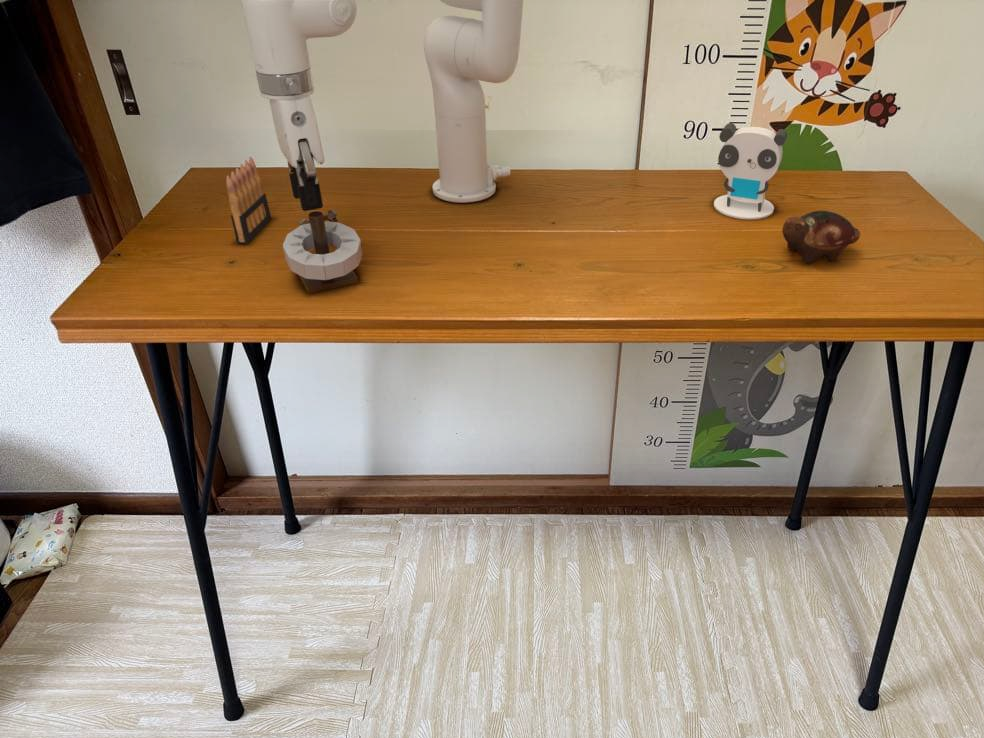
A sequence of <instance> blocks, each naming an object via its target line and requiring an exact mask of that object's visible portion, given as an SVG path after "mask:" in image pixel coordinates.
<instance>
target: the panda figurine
mask: <svg viewBox="0 0 984 738" xmlns="http://www.w3.org/2000/svg"><path fill="white" fill-rule="evenodd" d="M718 138H719V141H721V142H722V143H724V144H723V145H722V147H721V149H720V151H719V153H718V158H717V162H718V166H719V168H720V171H721V172H722V174H723V175H724V177H726V179H725V180H724V181H723V186H724V189H725V190H727V194H724V195H720V196H718V197H716V198H715V199H714V202H713V207H714V209H715V210H716V211H717V212H719V213H720V214H722V215H724V216H727V217H730V218H734V219H738V220H739V219H740V220H760V219H765V218H768V217H770V216H771V215H772V214H773V213H774V210H775V206H774V204H773V203H772V202H771V201H769V200H767V199H766V192H767V191H768V189H769V182H768V181H769V180H770V179H772V178H773V177H774V175H776V173H777V171H778V170H779V167H780V165H781V162H782V160H783V146H784V145H785V142H786V140H787V138H788V131H787V130H786V129H785V128H784V129H783V128H779V129H778V130H777V131H776V132H774V131H773V130H772V129H769V128H765V127H760V126H744V127H740V128H738V129H737V126H736V124H734V123H733V122H728V123H726V125H724V127H723V128H722V130H721V131H720V133H719V137H718Z"/></svg>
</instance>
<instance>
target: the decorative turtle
mask: <svg viewBox="0 0 984 738" xmlns="http://www.w3.org/2000/svg"><path fill="white" fill-rule="evenodd" d="M781 232H782V236H783V238H784V240H785V241H786V246H787V250H788V252H790V253H797V252H799V254H800V256H801V257H802V260H803V262H804V263H805V264H806V265H810V264H811V265H812V264H813V263H815V262H816V261H817V260H819V259H820V258H821V257H824V258H825V259H826V261H828V262H834V261H835V260H836V259H837V258H838V257H839V256H840V255H841V254H842V252H843V251H844V250H845V249H846V248H847V247H848V246H850V245H853V244H855V243H856V242H857V241H858V240H859V239H860V237H861V232H860V230H859V229H858V228H857V227H854V226H853V224H852V223H851V222H850V220H848V219H847V218H846V217H844V216H843V215H840V214H838V213H837V212H833V211H827V210H815V211H811V212H808V213H805V214H803V215H801V216H798V215H793V216H790V217H788V218H787V219H786V221H784V223H783V226H782V229H781Z"/></svg>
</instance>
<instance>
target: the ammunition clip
mask: <svg viewBox="0 0 984 738" xmlns="http://www.w3.org/2000/svg"><path fill="white" fill-rule="evenodd" d="M226 189H227V194H228V202H229V207H230V211H231V215H230V218H231V223H232V228H233V230H234V235H235V239H236V240H235V241H236V243H237V244H245V245H246V244H249V243H250V242H251V241H252V240H253V239H254V238H255V237H256V236H257V235H258V234H259V233H260V232H261V231H262V230H263V229H264V227H266V225H268V223H269V222H270V221H271V220H272V215H271V211H270V207H269V202H268V199H267V195H266V192H264V189H263V185H262V180H261V178H260V176H259V173H258V169H257V166H256V162H255V161H254V159H253V157H252V156H249V158H248V160H246V159H245V160H244V165H243V164H242V163H241V164H240V166H239V168H238V167H236V168H235V172H234V170H233V171H231V172H230V176H229V174H228V175H226Z"/></svg>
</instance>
